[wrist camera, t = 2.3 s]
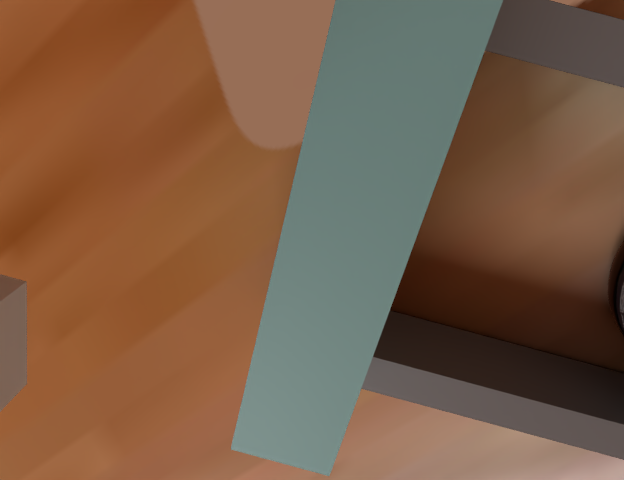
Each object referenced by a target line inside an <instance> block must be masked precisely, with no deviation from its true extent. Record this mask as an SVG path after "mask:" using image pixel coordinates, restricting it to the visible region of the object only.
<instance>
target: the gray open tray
mask: <svg viewBox="0 0 624 480" xmlns="http://www.w3.org/2000/svg"><path fill="white" fill-rule="evenodd" d="M484 51H489V52H492V53H496V54H500V55H504V56H507V57H511V58H515V59H519V60H522V61H526V62H530V63H534V64H538V65H541V66H545V67H549V68H553V69H556V70H560V71H564V72H568V73H571V74H575V75H579V76H583V77H587V78H590V79H594V80H598V81H602V82H605V83H609V84H613V85H617V86H620V87H624V20H622V19H618V18H614V17H611V16H607V15H603V14H599V13H595V12H592V11H588V10H584V9H580V8H577V7H573V6H569V5H565V4H561V3H558V2H554V1H550V0H336V1H335V5H334V10H333V14H332V19H331V23H330V27H329V31H328V35H327V40H326V44H325V49H324V53H323V57H322V61H321V65H320V70H319V74H318V79H317V83H316V87H315V91H314V95H313V100H312V104H311V109H310V112H309V117H308V121H307V126H306V129H305V134H304V138H303V142H302V147H301V151H300V155H299V159H298V164H297V168H296V172H295V177H294V181H293V185H292V189H291V194H290V198H289V202H288V206H287V211H286V215H285V219H284V224H283V228H282V232H281V236H280V241H279V245H278V249H277V253H276V258H275V262H274V266H273V271H272V275H271V279H270V283H269V288H268V292H267V296H266V300H265V305H264V309H263V313H262V318H261V322H260V326H259V330H258V335H257V339H256V343H255V348H254V352H253V356H252V360H251V365H250V369H249V373H248V377H247V382H246V386H245V390H244V395H243V399H242V403H241V407H240V412H239V416H238V420H237V424H236V429H235V433H234V437H233V442H232V446H231V450H235V451H239V452H243V453H246V454H250V455H254V456H257V457H261V458H265V459H268V460H272V461H276V462H279V463H283V464H287V465H290V466H294V467H298V468H301V469H305V470H309V471H312V472H316V473H320V474H323V475H327V476H329V475H330V473H331V470H332V467H333V464H334V462H335V459H336V456H337V453H338V451H339V448H340V445H341V443H342V440H343V437H344V434H345V432H346V429H347V426H348V423H349V421H350V418H351V415H352V412H353V410H354V407H355V404H356V401H357V399H358V396H359V393H360V391H361V389H365V390H369V391H372V392H376V393H380V394H383V395H387V396H391V397H394V398H398V399H402V400H406V401H409V402H413V403H417V404H420V405H424V406H428V407H431V408H435V409H439V410H442V411H446V412H450V413H454V414H457V415H461V416H465V417H468V418H472V419H476V420H479V421H483V422H487V423H490V424H494V425H498V426H502V427H505V428H509V429H513V430H516V431H520V432H524V433H527V434H531V435H535V436H538V437H542V438H546V439H550V440H553V441H557V442H561V443H564V444H568V445H572V446H575V447H579V448H583V449H586V450H590V451H594V452H598V453H601V454H605V455H609V456H612V457H616V458H620V459H623V460H624V373H620V372H616V371H612V370H609V369H605V368H601V367H598V366H594V365H590V364H586V363H583V362H579V361H575V360H572V359H568V358H564V357H561V356H557V355H553V354H549V353H546V352H542V351H538V350H535V349H531V348H527V347H523V346H520V345H516V344H512V343H509V342H505V341H501V340H497V339H494V338H490V337H486V336H483V335H479V334H475V333H471V332H468V331H464V330H460V329H457V328H453V327H449V326H446V325H442V324H438V323H434V322H431V321H427V320H423V319H420V318H416V317H412V316H408V315H405V314H401V313H397V312H394V311H390V308H391V306H392V303H393V300H394V298H395V295H396V292H397V289H398V287H399V284H400V281H401V278H402V276H403V273H404V270H405V267H406V265H407V262H408V259H409V256H410V254H411V251H412V248H413V246H414V243H415V240H416V237H417V235H418V232H419V229H420V226H421V224H422V221H423V218H424V215H425V213H426V210H427V207H428V204H429V202H430V199H431V196H432V194H433V191H434V188H435V185H436V183H437V180H438V177H439V174H440V172H441V169H442V166H443V163H444V161H445V158H446V155H447V152H448V150H449V147H450V144H451V142H452V139H453V136H454V133H455V131H456V128H457V125H458V122H459V120H460V117H461V114H462V111H463V109H464V106H465V103H466V100H467V98H468V95H469V92H470V90H471V87H472V84H473V81H474V79H475V76H476V73H477V70H478V68H479V65H480V62H481V59H482V57H483V54H484Z"/></svg>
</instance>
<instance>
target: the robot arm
mask: <svg viewBox="0 0 624 480" xmlns="http://www.w3.org/2000/svg"><path fill="white" fill-rule="evenodd" d="M26 384H27V282H26V281H22V280H19V279H15V278H11V277H8V276H4V275H1V274H0V411H1V410H2V409H3V408H4V407H5V406H6V405H7V404H8V403H9V402H10V401H11V400H12V399H13V398H14V397H15V396H16V395H17V394H18V393H19V391H20V390H21V389H22V388H23V387H24V386H25V385H26Z"/></svg>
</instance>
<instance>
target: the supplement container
mask: <svg viewBox="0 0 624 480" xmlns="http://www.w3.org/2000/svg"><path fill="white" fill-rule="evenodd" d="M608 298H609V305H610V309H611V313H612V315H613V318H614V320H615V323H616V324H617V326H618V328H619V330H620V331H621V333H622V334H623V335H624V241H623V243H622V244H621V246H620V248H619V250H618V251H617V253H616V256H615V258H614V261H613V263H612V267H611V270H610V275H609V281H608Z"/></svg>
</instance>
